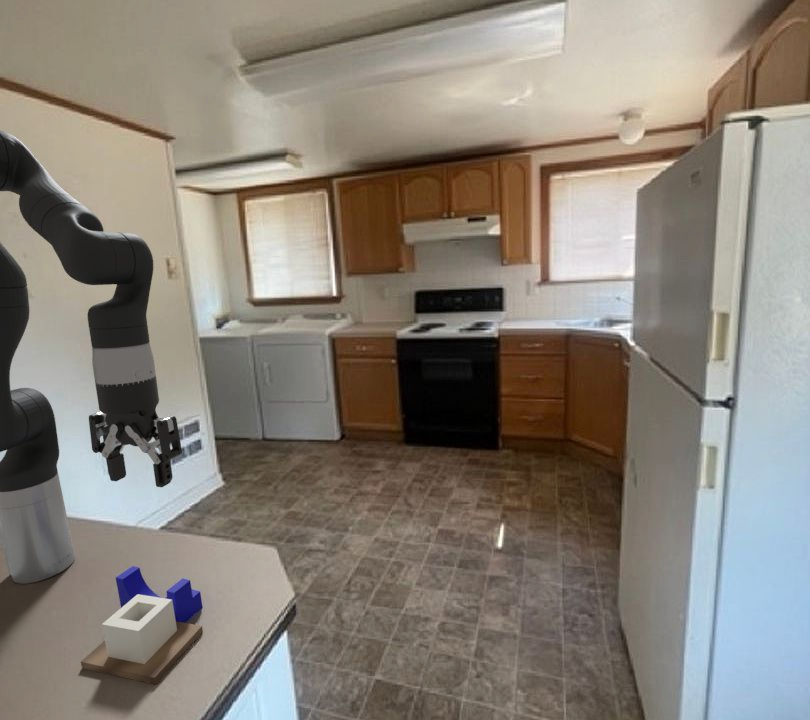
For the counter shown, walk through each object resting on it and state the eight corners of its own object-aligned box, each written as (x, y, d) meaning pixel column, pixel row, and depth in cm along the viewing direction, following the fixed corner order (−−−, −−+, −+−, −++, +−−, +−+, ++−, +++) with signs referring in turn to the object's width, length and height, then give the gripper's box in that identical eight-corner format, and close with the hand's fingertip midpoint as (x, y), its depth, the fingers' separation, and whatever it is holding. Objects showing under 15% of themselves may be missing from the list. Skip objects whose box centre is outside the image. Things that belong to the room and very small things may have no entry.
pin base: (82, 668, 63) (75, 638, 62) (135, 619, 71) (131, 593, 70) (155, 684, 59) (150, 653, 59) (202, 631, 68) (198, 603, 67)
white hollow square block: (142, 624, 69) (137, 594, 68) (177, 630, 67) (172, 599, 66) (108, 656, 63) (101, 624, 62) (144, 664, 62) (138, 630, 61)
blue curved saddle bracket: (202, 608, 73) (197, 574, 72) (179, 628, 69) (174, 592, 68) (146, 593, 78) (140, 560, 76) (121, 611, 73) (115, 577, 72)
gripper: (186, 372, 68) (198, 476, 71) (110, 368, 72) (124, 467, 75) (144, 384, 61) (159, 499, 64) (63, 379, 65) (81, 488, 68)
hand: (140, 482), depth 70 cm, fingers open, 8 cm apart
